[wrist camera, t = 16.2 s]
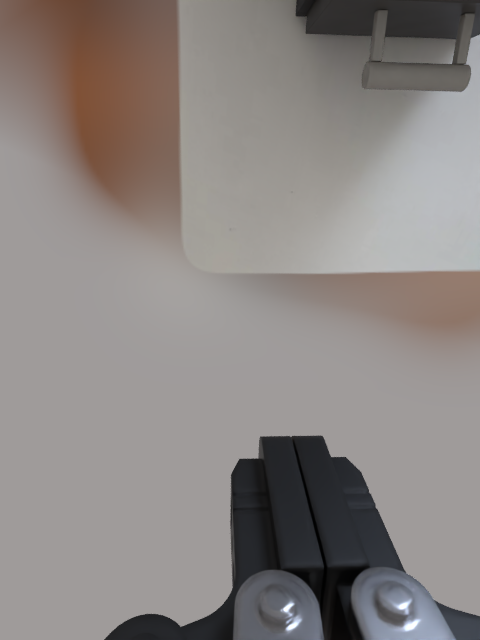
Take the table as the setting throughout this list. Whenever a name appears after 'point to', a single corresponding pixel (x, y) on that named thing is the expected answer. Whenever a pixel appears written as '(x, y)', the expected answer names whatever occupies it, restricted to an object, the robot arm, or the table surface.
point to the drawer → (403, 21)
